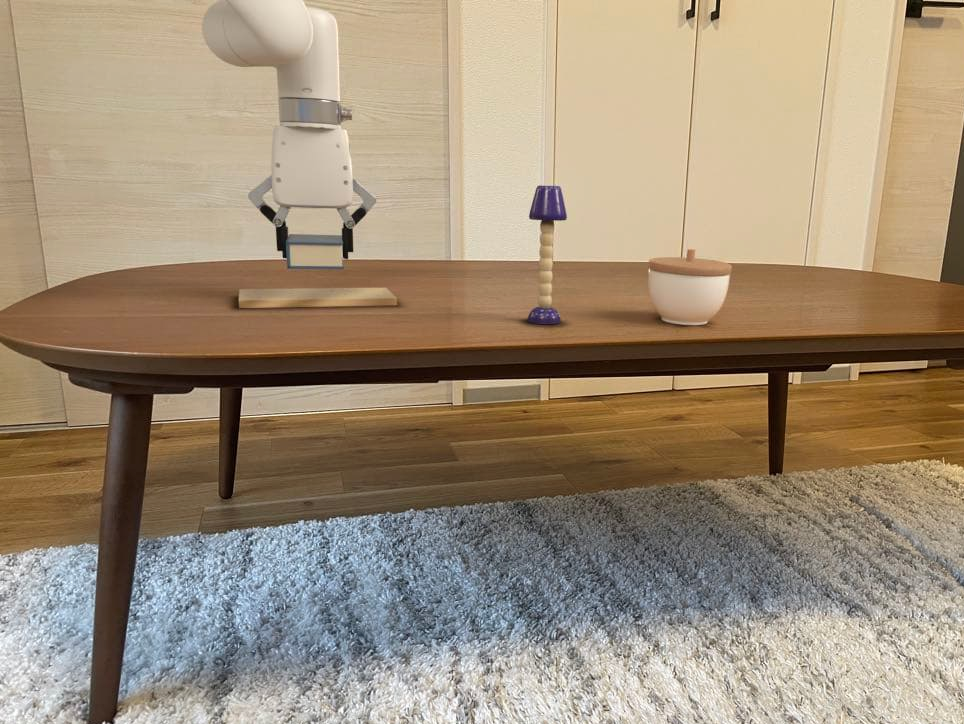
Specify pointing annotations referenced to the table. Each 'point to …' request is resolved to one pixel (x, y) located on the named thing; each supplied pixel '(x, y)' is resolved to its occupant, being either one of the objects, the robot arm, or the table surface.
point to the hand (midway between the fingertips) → (316, 256)
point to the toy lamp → (546, 248)
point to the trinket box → (687, 288)
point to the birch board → (315, 297)
